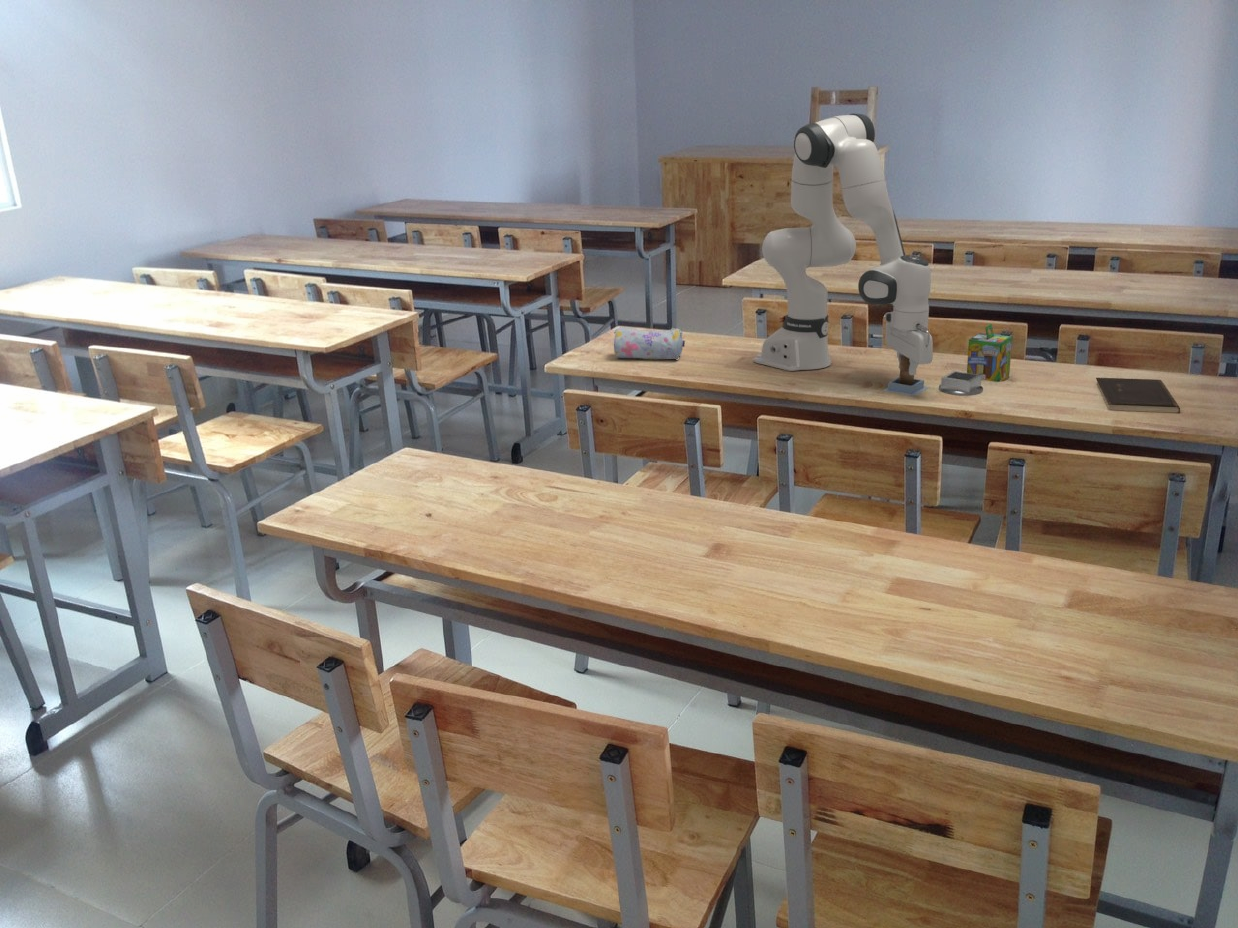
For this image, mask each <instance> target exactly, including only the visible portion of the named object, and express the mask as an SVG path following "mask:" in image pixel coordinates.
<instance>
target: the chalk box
mask: <svg viewBox="0 0 1238 928" xmlns="http://www.w3.org/2000/svg"><path fill="white" fill-rule="evenodd" d="M989 330H990V333H989ZM1012 346H1013V336H1011V335H1002V334H996V333H994V329H993V324H992V323H988V325H986V326H985V333H982V332H979V333H977V334H976V335H974V336H972V337H971V338H969V339H968V346H967V348H968V349H967V363H966V364H967V366H966V373H972V374H979V375H982V378H981V381H991V382H997V383H999V382H1004V381H1005V380H1007V379H1008V378H1010V370H1011V361H1012V359H1011V357H1012Z"/></svg>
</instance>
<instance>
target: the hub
mask: <svg viewBox="0 0 1238 928" xmlns="http://www.w3.org/2000/svg"><path fill="white" fill-rule="evenodd" d="M981 378H982V375H979V374H972V373H967V372H965V371H964V372H963V371H957V370H952V371H951V372H949V373H947V374H946V375H944V376H942V377H941V381H940V384H939V385H938V390H939V392H941V393H943V394H947V395H951V396H958V397H959V396H962V397H965V396H966V397H968V396H970V397H971V396H976V395H979V394H982V393H983V392H984V386H982V379H981Z"/></svg>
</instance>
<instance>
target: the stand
mask: <svg viewBox="0 0 1238 928" xmlns="http://www.w3.org/2000/svg"><path fill="white" fill-rule="evenodd" d="M899 382H900V376H898V377H897V378H895V379H892V380H890V381H889V382H887V383H888V385H887V387H886V388H884V389H882V391H883V392H889V393H894V394H900V395H907V396H912V397H915V396H917V395H919V394H921V393H922V392H924V391H926V390H927V389H929V388H930V387H929V386H925V380H924V379H918V378H914V385H912V386H910V385H904V384H899Z"/></svg>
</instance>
